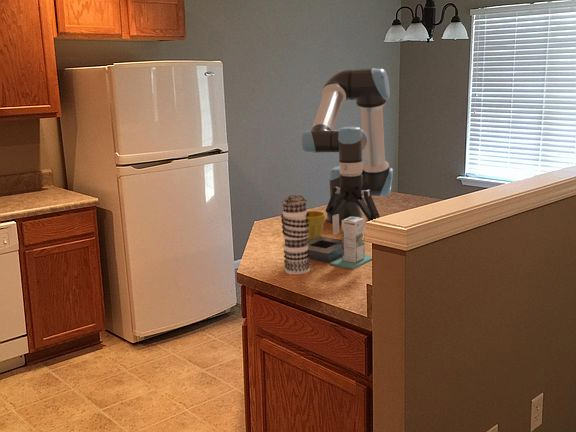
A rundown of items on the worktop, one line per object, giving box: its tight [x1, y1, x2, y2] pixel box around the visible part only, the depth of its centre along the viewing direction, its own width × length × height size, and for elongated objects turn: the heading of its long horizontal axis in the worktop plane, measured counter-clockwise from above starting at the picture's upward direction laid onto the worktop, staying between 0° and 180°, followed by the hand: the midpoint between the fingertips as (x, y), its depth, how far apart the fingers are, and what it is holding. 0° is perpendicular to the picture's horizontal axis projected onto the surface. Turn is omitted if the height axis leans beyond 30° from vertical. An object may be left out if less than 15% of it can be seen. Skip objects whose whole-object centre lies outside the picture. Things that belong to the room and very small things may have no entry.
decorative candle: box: [280, 194, 311, 275], centre depth 208 cm, size 9×9×25 cm
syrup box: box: [341, 217, 366, 263], centre depth 215 cm, size 6×6×14 cm
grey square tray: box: [307, 235, 342, 264], centre depth 226 cm, size 16×16×4 cm
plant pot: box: [306, 210, 326, 240], centre depth 246 cm, size 10×10×10 cm
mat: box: [329, 254, 372, 270], centre depth 216 cm, size 14×9×1 cm, turn 140°
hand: (352, 236), depth 214 cm, fingers open, 13 cm apart
